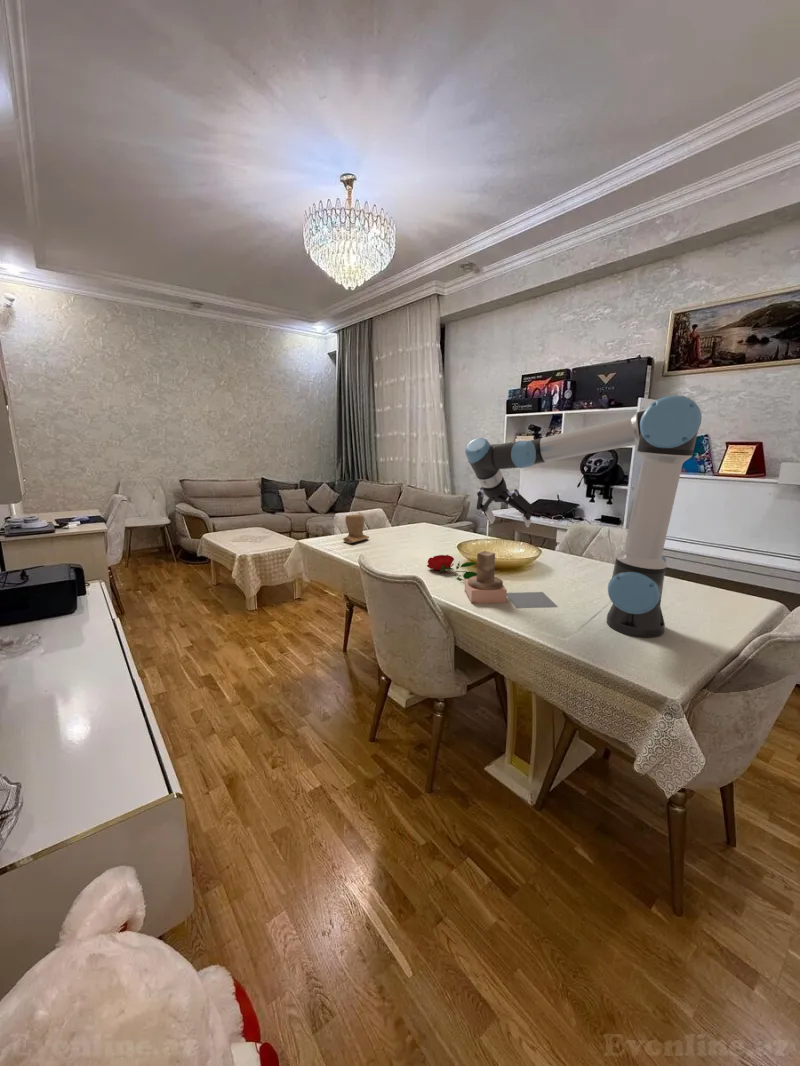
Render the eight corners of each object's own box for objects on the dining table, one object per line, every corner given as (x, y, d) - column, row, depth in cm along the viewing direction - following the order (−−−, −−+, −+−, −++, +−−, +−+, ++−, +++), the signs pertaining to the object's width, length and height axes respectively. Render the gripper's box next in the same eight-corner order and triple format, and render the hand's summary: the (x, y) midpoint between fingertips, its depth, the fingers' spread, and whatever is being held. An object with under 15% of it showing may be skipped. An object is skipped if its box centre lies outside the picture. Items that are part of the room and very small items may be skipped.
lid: (508, 583, 151) (510, 552, 149) (491, 592, 143) (492, 560, 140) (479, 576, 159) (480, 547, 157) (461, 584, 151) (461, 553, 148)
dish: (506, 603, 146) (506, 589, 145) (471, 604, 146) (471, 590, 145) (496, 591, 158) (497, 578, 157) (464, 591, 158) (464, 578, 157)
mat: (558, 608, 142) (558, 607, 142) (516, 609, 142) (516, 608, 142) (542, 593, 156) (542, 592, 156) (504, 593, 155) (504, 592, 155)
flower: (490, 555, 164) (430, 548, 185) (479, 571, 159) (418, 562, 180) (497, 572, 169) (437, 564, 189) (486, 589, 163) (425, 578, 184)
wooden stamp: (356, 537, 245) (355, 511, 242) (372, 539, 238) (371, 513, 235) (337, 542, 234) (336, 515, 230) (353, 545, 226) (352, 517, 223)
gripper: (453, 487, 144) (475, 527, 158) (524, 491, 128) (541, 534, 142) (462, 471, 147) (483, 511, 161) (532, 472, 131) (548, 517, 145)
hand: (510, 522), depth 151 cm, fingers open, 13 cm apart
